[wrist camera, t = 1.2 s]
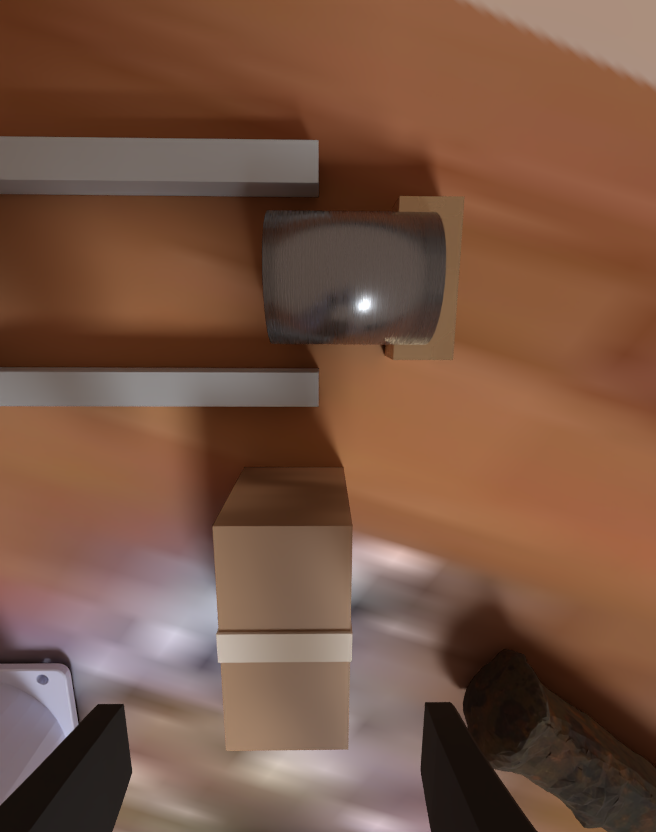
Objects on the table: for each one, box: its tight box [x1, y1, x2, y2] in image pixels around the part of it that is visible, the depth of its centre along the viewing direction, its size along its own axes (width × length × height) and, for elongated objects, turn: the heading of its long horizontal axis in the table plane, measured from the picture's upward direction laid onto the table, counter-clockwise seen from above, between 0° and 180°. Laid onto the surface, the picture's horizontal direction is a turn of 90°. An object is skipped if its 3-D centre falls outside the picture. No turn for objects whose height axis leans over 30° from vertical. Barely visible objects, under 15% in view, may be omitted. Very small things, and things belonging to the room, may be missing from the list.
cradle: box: [0, 136, 319, 407], centre depth 14 cm, size 14×8×2 cm, turn 90°
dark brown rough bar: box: [463, 649, 656, 832], centre depth 18 cm, size 19×4×5 cm, turn 49°
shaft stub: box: [262, 196, 464, 360], centre depth 13 cm, size 6×5×4 cm
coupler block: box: [212, 467, 352, 751], centre depth 15 cm, size 4×8×5 cm, turn 0°
